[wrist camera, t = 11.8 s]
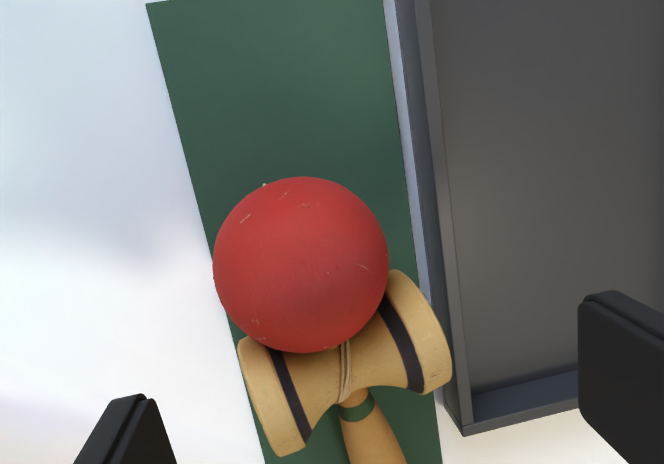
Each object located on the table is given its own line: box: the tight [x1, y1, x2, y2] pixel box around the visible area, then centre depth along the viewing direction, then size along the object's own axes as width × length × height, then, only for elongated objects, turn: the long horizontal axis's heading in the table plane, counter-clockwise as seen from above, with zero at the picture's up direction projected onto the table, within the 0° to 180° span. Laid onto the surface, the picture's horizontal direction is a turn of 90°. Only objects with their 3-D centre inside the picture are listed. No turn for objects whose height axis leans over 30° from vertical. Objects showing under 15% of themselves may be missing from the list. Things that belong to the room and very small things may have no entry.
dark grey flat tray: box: [395, 0, 664, 437], centre depth 17 cm, size 23×13×2 cm, turn 10°
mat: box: [146, 0, 442, 464], centre depth 18 cm, size 23×8×1 cm, turn 10°
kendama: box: [213, 177, 452, 464], centre depth 17 cm, size 8×6×18 cm
